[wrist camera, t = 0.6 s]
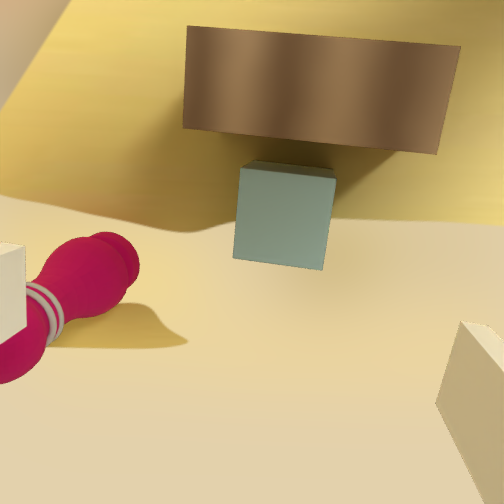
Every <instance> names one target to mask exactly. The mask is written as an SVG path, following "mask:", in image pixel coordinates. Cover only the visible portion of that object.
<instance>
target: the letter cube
mask: <svg viewBox="0 0 504 504" xmlns="http://www.w3.org/2000/svg"><path fill="white" fill-rule="evenodd" d="M336 181H337V178H336V176H335V173H334V170H333V169H327V168H318V167H309V166H300V165H292V164H283V163H274V162H265V161H256V160H253V161H252V162H250V163H248V164H246V165H245V166H243V167H241V168H240V179H239V190H238V202H237V214H236V226H235V238H234V250H233V258H235V259H242V260H249V261H256V262H264V263H271V264H278V265H286V266H293V267H300V268H307V269H315V270H323V264H324V257H325V251H326V244H327V238H328V232H329V225H330V219H331V213H332V206H333V200H334V194H335V187H336Z"/></svg>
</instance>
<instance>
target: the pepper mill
mask: <svg viewBox="0 0 504 504" xmlns="http://www.w3.org/2000/svg"><path fill="white" fill-rule="evenodd" d="M139 266H140V264H139V258H138V255H137V252H136V250H135V249H134V247H133V246H132V244H131V243H130V242H129V241H128V240H126V239H125V238H124V237H122V236H120V235H118V234H116V233H112V232H100V233H96V234H94V235H92V236H90V237H79V238H75V239H71V240H70V241H67V242H65V243H64V244H62V245H61V246H60V247H58V248H57V249H56V250H55V251H54V252H53V253H52V254H51V255H50V256H49V258H48V259H47V260H46V262H45V264H44V266H43V268H42V271H41V272H40V274H39V275H38V277H37V278H36V279H34V280H33V281H32V282H26V318H27V326H26V327H25V328H23V329H22V330H20V331H19V332H18V333H16V334H15V335H13V336H12V337H10V338H9V339H7V340H6V341H4V342H3V343H1V344H0V384H3V383H8V382H11V381H13V380H15V379H17V378H19V377H21V376H23V375H24V374H26V373H27V372H28V371H29V370H31V369H32V368H33V367H34V366H35V365H36V364H37V363H38V362H39V360H40V359H41V357H42V355H43V353H44V351H45V348H46V347H47V346H48V345H49V344H50V343H51V342H53V341H54V340H56V339H57V338H58V337H59V335H60V334H61V332H62V330H63V326H64V324H66V323H67V322H69V321H70V320H73V319H76V318H88V317H94V316H97V315H100V314H103V313H105V312H107V311H108V310H110V309H111V308H113V307H114V306H116V305H117V304H118V303H119V302H120V300H121V299H122V298H123V296H124V295H125V293H126V290H127V288H128V287H129V286H131V285H132V284H133V283H134V281H135V280H136V279H137V276H138V274H139Z"/></svg>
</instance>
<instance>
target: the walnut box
mask: <svg viewBox="0 0 504 504" xmlns="http://www.w3.org/2000/svg"><path fill="white" fill-rule="evenodd" d="M460 49H461V46H448V45H435V44H422V43H409V42H396V41H383V40H370V39H357V38H343V37H330V36H317V35H304V34H291V33H278V32H265V31H252V30H239V29H226V28H213V27H200V26H187V39H186V62H185V86H184V109H183V128H187V129H197V130H206V131H216V132H225V133H235V134H244V135H254V136H263V137H273V138H282V139H292V140H301V141H311V142H320V143H330V144H340V145H349V146H359V147H368V148H378V149H387V150H397V151H406V152H416V153H425V154H435V155H437V150H438V146H439V141H440V137H441V133H442V128H443V124H444V119H445V115H446V111H447V106H448V102H449V97H450V93H451V88H452V84H453V80H454V75H455V71H456V66H457V62H458V57H459V53H460Z"/></svg>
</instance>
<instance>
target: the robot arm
mask: <svg viewBox="0 0 504 504" xmlns="http://www.w3.org/2000/svg"><path fill="white" fill-rule="evenodd" d="M25 265H26V264H25V246H24V245H17V244H12V243H6V242H0V344H1V343H3V342H4V341H6V340H7V339H9V338H10V337H12V336H13V335H15V334H16V333H18V332H19V331H20V330H22V329H23V328H25V327H26V326H27V318H26V266H25ZM435 404H436V406H437V407H438V410H439V412H440V414H441V415H442V418H443V420H444V422H445V424H446V426H447V428H448V430H449V432H450V434H451V436H452V438H453V440H454V442H455V444H456V446H457V448H458V450H459V453H460V454H461V457H462V459H463V461H464V463H465V465H466V467H467V469H468V471H469V473H470V475H471V477H472V479H473V481H474V483H475V485H476V487H477V489H478V491H479V493H480V495H481V497H482V499H483V501H484V503H485V504H504V341H503V340H502V339H500V337H499V336H498V335H497V334H496V333H495V332H494V331H493V330H492V329H491V328H490V327H489V326H487V325H481V324H476V323H470V322H464V321H460V325H459V328H458V332H457V335H456V338H455V341H454V344H453V348H452V351H451V354H450V357H449V361H448V364H447V367H446V370H445V374H444V377H443V380H442V384H441V387H440V390H439V393H438V397H437V400H436V403H435Z"/></svg>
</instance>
